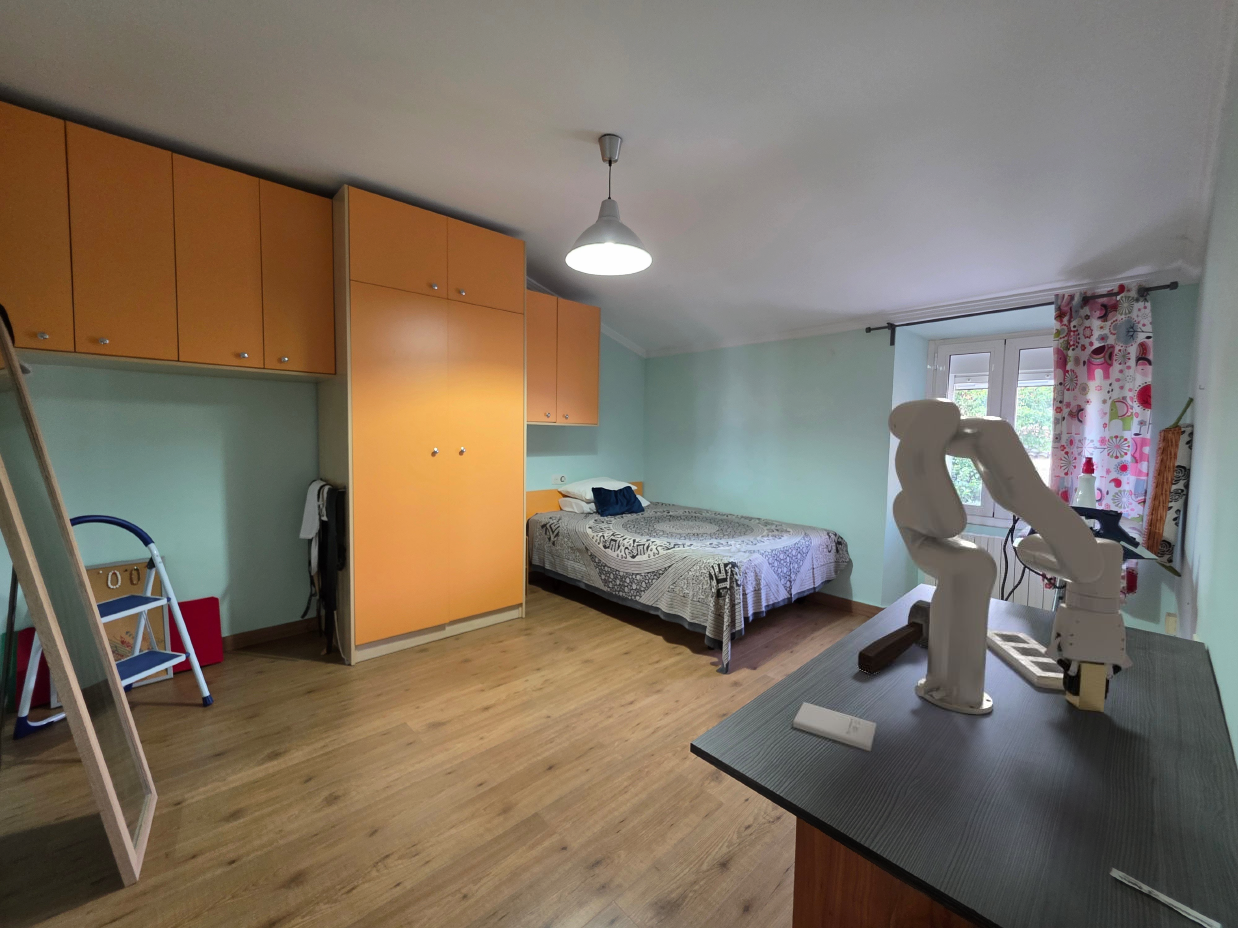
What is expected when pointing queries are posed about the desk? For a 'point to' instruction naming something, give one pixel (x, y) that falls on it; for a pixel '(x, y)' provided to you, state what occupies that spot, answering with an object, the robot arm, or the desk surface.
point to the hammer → (897, 640)
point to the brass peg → (1090, 686)
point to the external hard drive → (835, 726)
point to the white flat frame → (1026, 658)
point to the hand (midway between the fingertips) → (1084, 693)
